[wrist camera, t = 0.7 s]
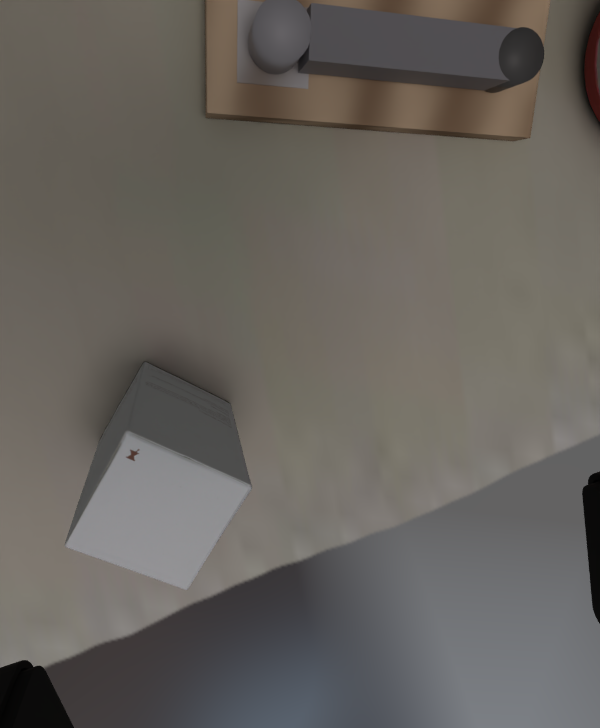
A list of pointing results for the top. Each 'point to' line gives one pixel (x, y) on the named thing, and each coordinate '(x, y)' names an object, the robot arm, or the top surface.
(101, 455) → the supplement box
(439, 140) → the top surface
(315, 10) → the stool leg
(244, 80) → the flat wooden plank
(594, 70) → the citrus juicer
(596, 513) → the robot arm
